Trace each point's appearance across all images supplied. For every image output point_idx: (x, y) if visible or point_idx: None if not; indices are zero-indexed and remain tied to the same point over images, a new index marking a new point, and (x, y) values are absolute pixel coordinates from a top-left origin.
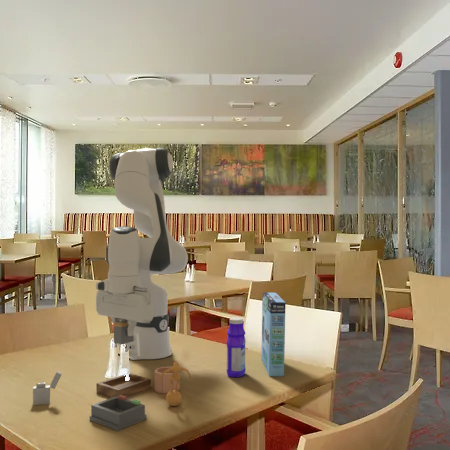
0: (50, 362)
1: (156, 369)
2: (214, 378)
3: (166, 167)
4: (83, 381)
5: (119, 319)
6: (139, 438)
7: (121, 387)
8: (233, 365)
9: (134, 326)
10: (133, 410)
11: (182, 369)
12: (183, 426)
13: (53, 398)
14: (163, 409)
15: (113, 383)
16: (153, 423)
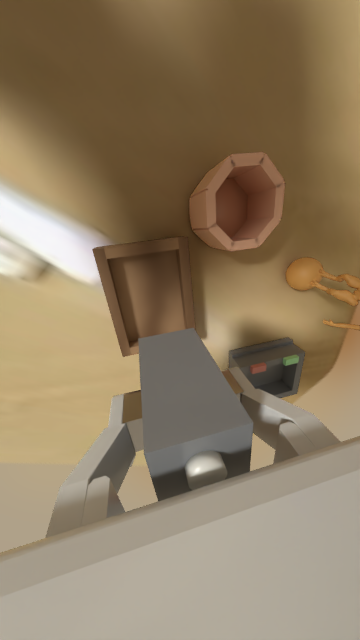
0: None
1: (214, 228)
2: None
3: None
4: (20, 337)
5: (113, 493)
6: (315, 370)
7: (187, 328)
8: None
9: (280, 404)
10: (299, 371)
11: None
12: (345, 312)
13: (104, 411)
14: (287, 296)
15: (121, 311)
16: (305, 337)
